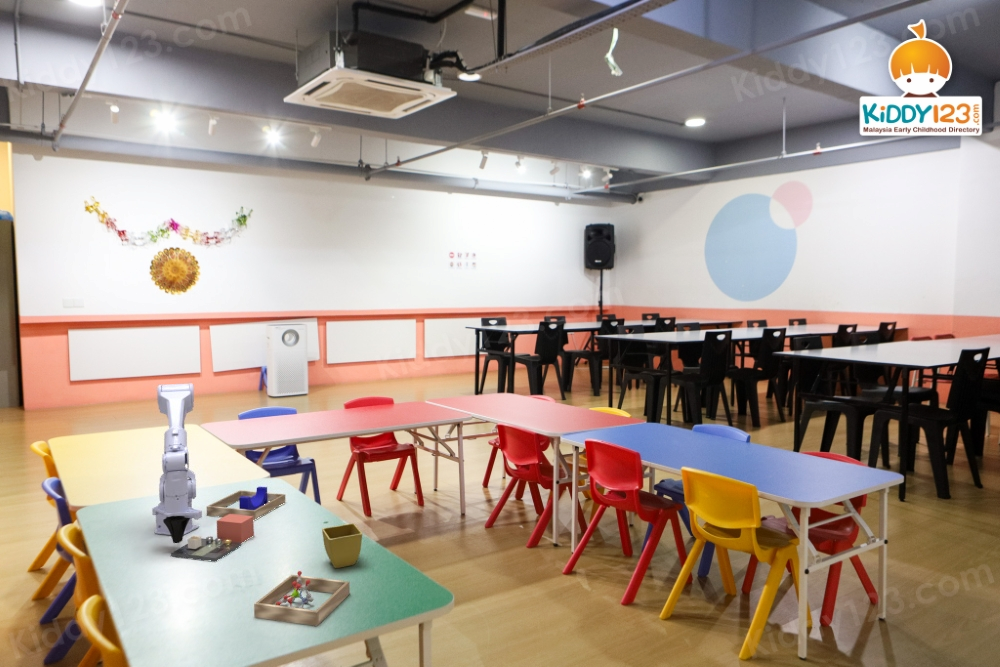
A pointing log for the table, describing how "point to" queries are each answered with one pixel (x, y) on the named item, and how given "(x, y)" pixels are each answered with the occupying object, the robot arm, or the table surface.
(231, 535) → the cap
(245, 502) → the blue curved cradle block
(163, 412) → the robot arm
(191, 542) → the block
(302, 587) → the molecular model
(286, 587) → the wooden frame right
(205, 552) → the panel
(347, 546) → the flower pot
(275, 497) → the wooden frame left
